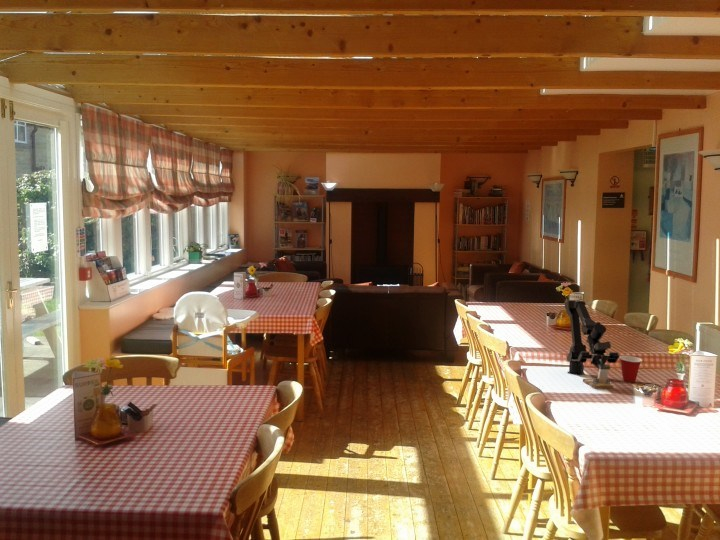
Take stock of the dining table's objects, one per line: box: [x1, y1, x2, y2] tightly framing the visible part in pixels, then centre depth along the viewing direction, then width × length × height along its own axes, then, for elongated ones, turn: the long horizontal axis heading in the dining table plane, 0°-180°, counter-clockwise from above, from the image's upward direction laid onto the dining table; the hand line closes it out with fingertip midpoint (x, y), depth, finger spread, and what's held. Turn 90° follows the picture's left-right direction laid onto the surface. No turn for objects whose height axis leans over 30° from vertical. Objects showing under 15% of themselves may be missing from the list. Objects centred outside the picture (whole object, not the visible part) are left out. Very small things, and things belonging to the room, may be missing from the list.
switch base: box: [582, 377, 614, 390], centre depth 350 cm, size 16×9×4 cm, turn 4°
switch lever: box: [597, 363, 611, 384], centre depth 343 cm, size 2×5×10 cm, turn 93°
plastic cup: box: [618, 355, 643, 383], centre depth 361 cm, size 11×11×12 cm
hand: (602, 371), depth 344 cm, fingers closed, pressing on switch lever
